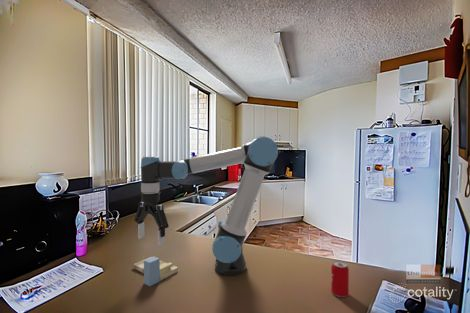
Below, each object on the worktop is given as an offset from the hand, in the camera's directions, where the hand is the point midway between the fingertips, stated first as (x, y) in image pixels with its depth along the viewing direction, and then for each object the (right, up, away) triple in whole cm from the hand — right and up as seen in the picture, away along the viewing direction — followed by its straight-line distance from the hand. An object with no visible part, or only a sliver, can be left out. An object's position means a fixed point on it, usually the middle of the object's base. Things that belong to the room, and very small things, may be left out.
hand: (150, 240), depth 107 cm
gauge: (+3, -17, +2) cm, 18 cm away
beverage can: (+78, -18, -10) cm, 80 cm away
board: (-1, -17, +9) cm, 19 cm away
